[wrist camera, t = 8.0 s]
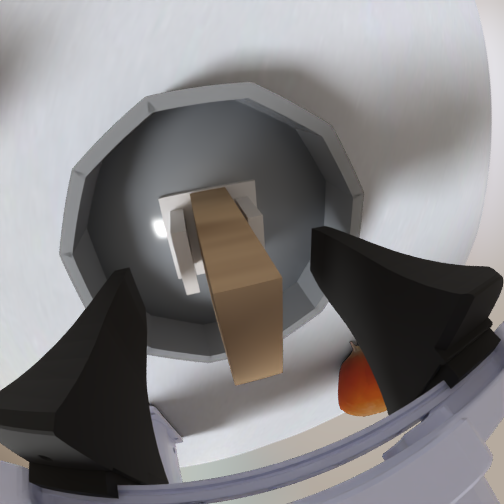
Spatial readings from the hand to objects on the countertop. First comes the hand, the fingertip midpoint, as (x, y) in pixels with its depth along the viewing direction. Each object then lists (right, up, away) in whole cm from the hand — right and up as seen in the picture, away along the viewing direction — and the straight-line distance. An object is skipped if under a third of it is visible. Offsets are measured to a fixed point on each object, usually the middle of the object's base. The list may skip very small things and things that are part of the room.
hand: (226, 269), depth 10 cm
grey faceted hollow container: (-1, +2, +3) cm, 4 cm away
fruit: (+12, -10, +15) cm, 21 cm away
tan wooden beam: (-1, +2, +2) cm, 3 cm away
